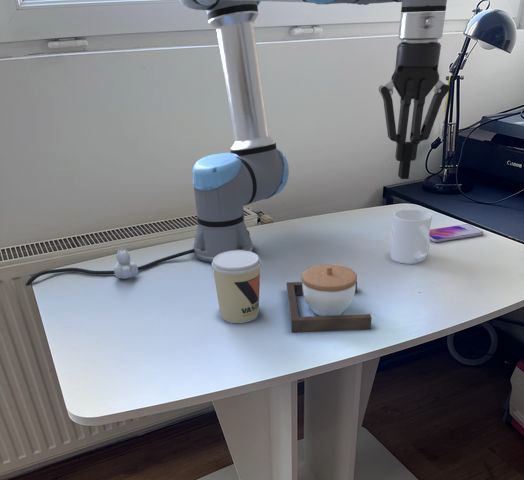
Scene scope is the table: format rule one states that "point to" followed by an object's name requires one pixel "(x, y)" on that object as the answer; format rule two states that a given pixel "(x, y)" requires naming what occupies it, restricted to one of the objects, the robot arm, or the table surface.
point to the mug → (410, 236)
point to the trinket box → (328, 288)
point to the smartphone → (454, 232)
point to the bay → (321, 321)
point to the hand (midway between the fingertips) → (403, 177)
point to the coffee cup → (237, 285)
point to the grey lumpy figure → (124, 265)
